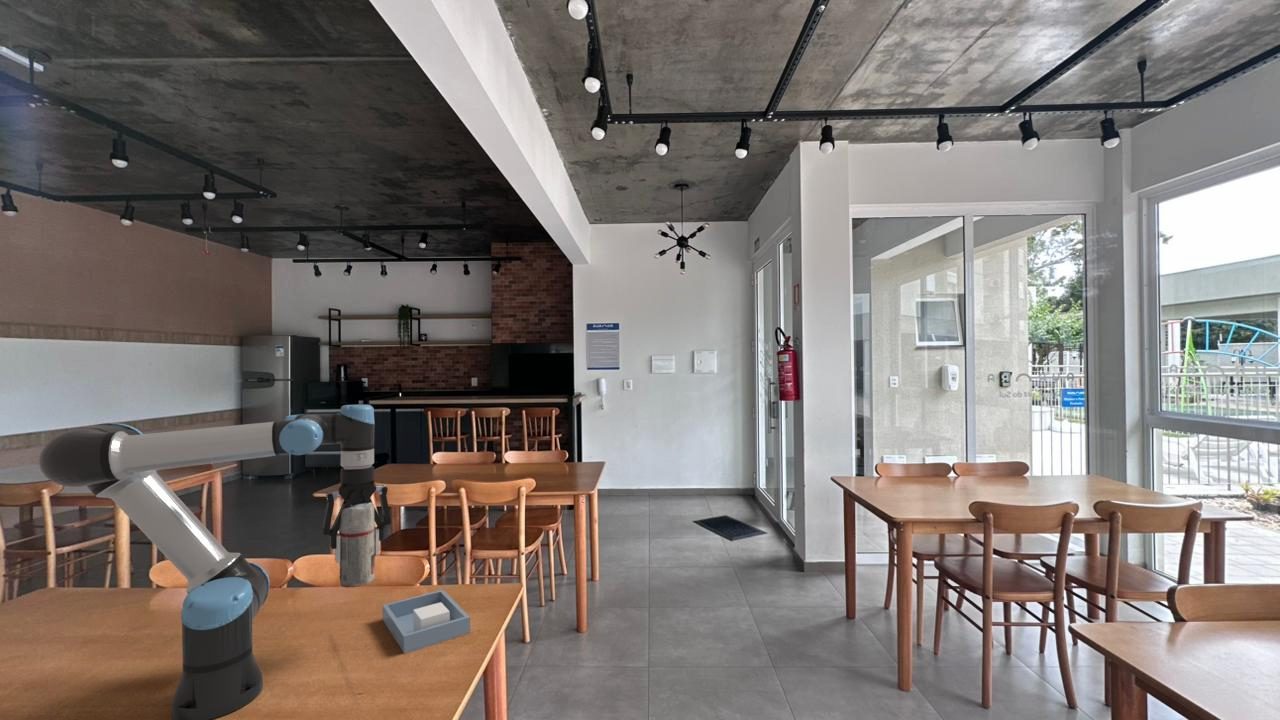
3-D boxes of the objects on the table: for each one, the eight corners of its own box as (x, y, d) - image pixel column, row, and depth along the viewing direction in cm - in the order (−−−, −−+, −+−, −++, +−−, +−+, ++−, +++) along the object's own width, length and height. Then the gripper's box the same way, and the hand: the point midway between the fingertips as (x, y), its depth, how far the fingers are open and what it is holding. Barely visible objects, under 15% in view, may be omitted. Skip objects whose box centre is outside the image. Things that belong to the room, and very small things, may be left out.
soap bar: (421, 644, 135) (421, 619, 135) (413, 633, 141) (413, 609, 141) (450, 635, 139) (449, 611, 139) (441, 625, 145) (441, 602, 145)
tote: (404, 657, 131) (404, 636, 131) (382, 623, 148) (382, 605, 148) (470, 636, 140) (470, 617, 140) (442, 607, 158) (442, 589, 158)
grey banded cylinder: (364, 589, 133) (366, 506, 134) (331, 588, 133) (333, 505, 134) (381, 576, 142) (383, 498, 142) (350, 575, 142) (352, 497, 142)
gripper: (311, 473, 129) (310, 571, 128) (405, 464, 141) (405, 552, 141) (307, 468, 135) (307, 562, 134) (397, 460, 147) (397, 545, 147)
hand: (357, 557), depth 138 cm, fingers closed on grey banded cylinder, 8 cm apart
